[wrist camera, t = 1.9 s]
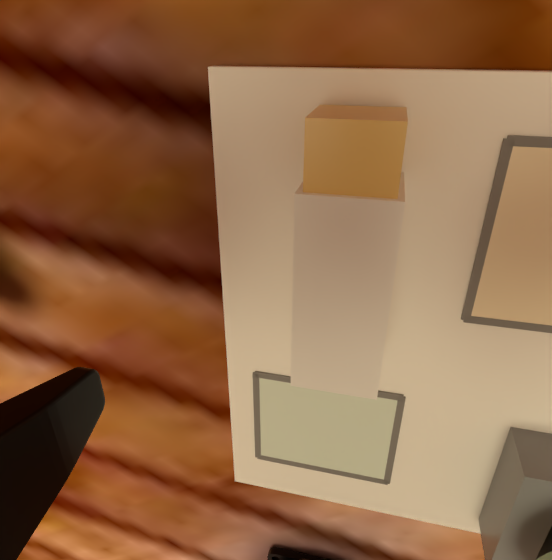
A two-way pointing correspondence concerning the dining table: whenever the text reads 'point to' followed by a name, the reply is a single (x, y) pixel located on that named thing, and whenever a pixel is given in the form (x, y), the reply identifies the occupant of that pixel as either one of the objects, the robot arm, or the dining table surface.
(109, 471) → the dining table surface
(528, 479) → the button housing
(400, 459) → the picture board
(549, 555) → the button
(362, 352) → the marker
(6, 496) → the robot arm
